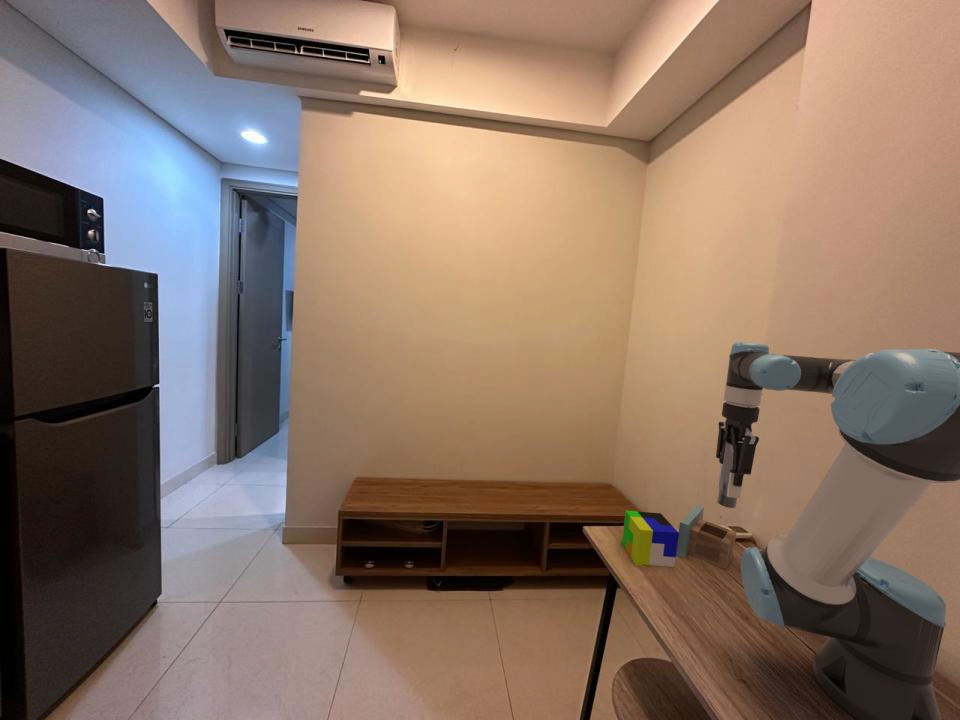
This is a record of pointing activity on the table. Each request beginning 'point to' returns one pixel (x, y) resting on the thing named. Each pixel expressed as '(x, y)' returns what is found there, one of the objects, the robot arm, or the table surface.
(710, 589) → the table surface
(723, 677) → the table surface
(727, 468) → the dowel
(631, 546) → the puzzle toy
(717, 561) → the brown wooden box
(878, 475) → the robot arm
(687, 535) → the backstop
